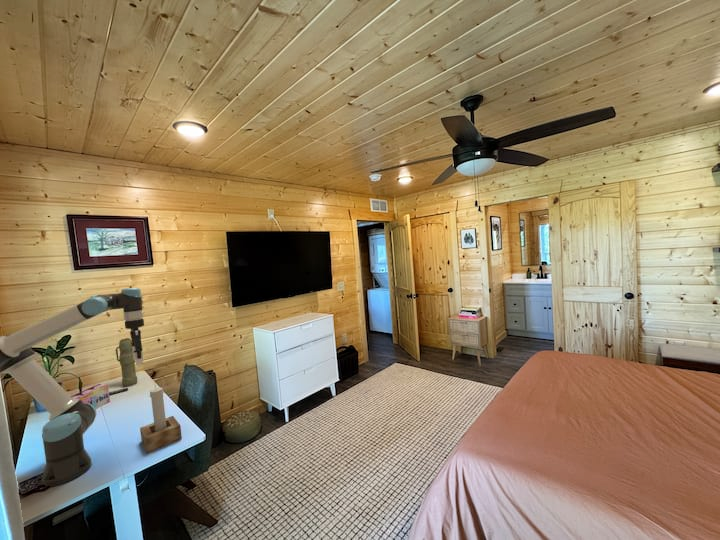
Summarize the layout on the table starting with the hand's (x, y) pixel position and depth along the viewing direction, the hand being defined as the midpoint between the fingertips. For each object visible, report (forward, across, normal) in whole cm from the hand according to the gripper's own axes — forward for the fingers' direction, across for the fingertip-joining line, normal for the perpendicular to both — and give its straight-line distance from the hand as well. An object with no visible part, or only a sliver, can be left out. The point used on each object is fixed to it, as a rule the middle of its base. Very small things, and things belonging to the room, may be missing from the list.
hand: (138, 362), depth 149 cm
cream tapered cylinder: (+38, -9, -5) cm, 39 cm away
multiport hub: (+39, +84, +7) cm, 93 cm away
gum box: (+39, +66, +21) cm, 80 cm away
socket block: (+38, -9, -6) cm, 40 cm away
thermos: (+39, +94, -1) cm, 102 cm away
